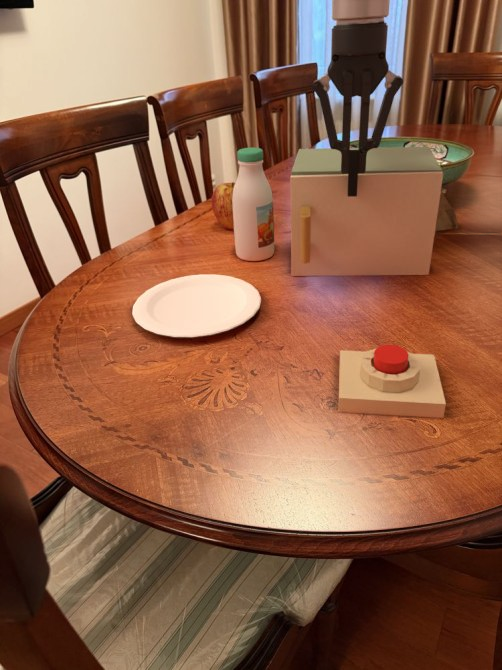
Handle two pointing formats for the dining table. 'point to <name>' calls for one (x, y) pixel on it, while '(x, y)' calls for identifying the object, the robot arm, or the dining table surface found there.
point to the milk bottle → (252, 208)
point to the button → (390, 359)
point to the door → (363, 224)
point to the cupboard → (367, 161)
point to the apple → (224, 204)
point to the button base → (390, 386)
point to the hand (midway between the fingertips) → (352, 193)
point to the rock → (445, 216)
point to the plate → (196, 306)
